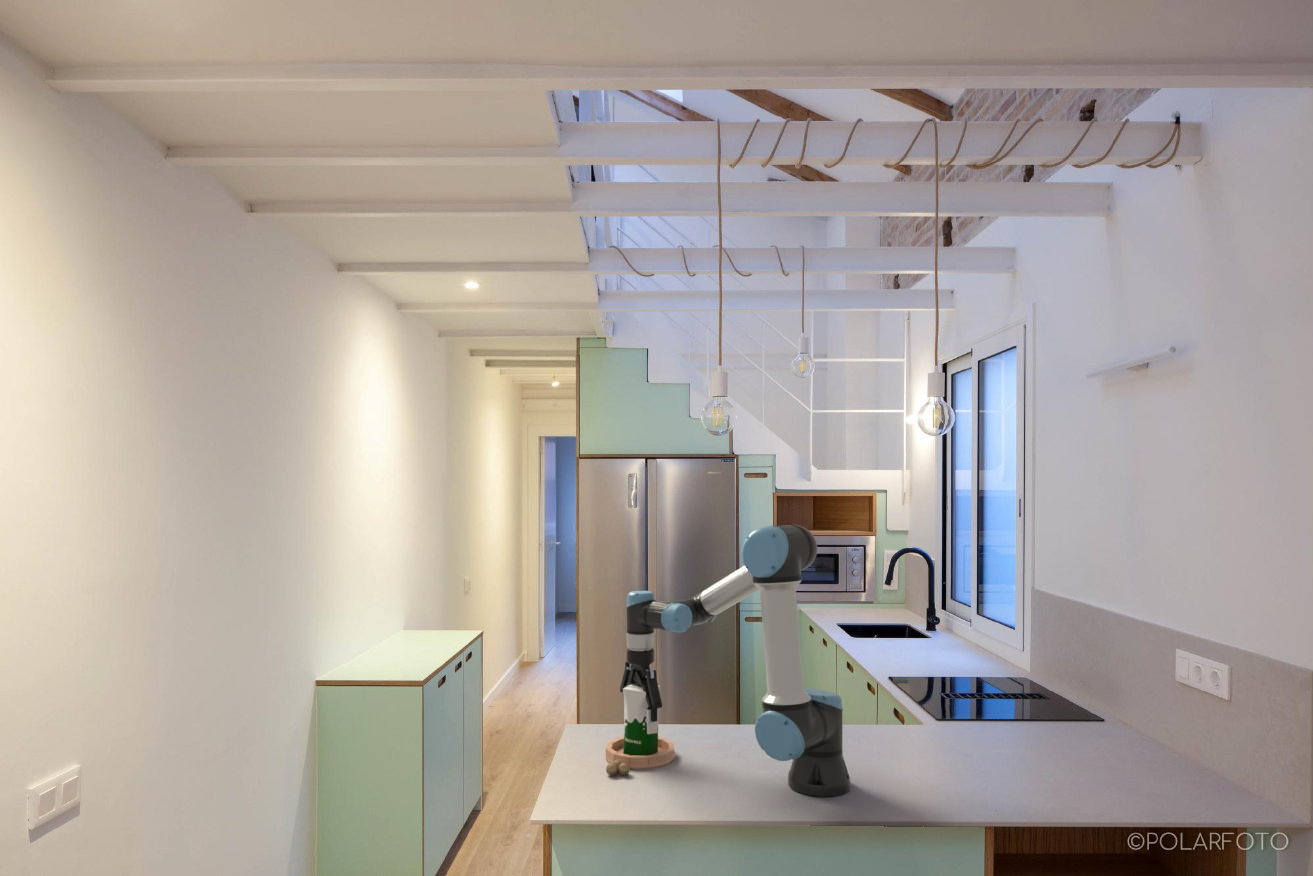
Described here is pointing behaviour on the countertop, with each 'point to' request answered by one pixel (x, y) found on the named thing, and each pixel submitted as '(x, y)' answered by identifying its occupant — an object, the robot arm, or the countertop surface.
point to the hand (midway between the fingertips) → (640, 726)
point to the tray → (641, 762)
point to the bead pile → (617, 768)
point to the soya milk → (637, 723)
